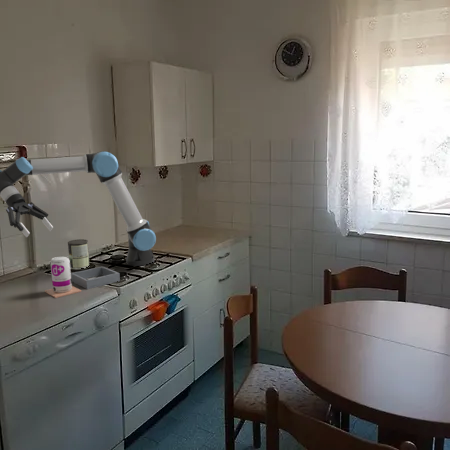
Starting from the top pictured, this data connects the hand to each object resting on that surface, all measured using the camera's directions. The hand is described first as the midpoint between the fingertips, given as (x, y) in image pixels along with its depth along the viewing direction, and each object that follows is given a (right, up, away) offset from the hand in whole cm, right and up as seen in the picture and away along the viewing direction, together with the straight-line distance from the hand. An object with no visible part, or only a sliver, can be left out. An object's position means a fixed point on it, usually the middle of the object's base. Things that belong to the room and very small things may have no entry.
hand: (40, 232), depth 215 cm
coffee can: (+5, -19, +41) cm, 46 cm away
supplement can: (+10, -27, 0) cm, 28 cm away
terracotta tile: (+10, -27, 0) cm, 29 cm away
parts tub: (+21, -24, +15) cm, 35 cm away
